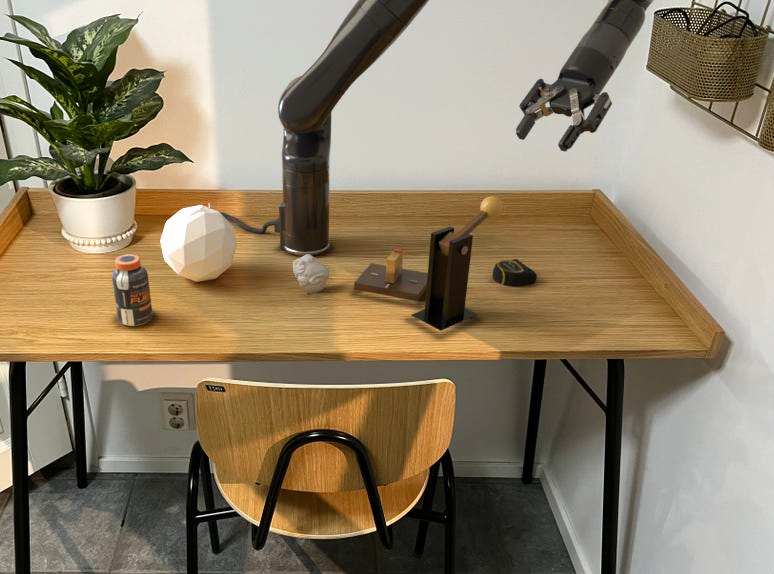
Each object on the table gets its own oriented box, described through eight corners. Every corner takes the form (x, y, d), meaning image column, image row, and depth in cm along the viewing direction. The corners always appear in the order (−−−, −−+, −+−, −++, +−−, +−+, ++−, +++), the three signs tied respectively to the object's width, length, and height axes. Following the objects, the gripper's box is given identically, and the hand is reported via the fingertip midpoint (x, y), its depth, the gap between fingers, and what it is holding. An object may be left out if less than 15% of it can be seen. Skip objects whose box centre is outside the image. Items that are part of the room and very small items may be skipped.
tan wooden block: (393, 283, 138) (395, 259, 135) (385, 282, 138) (386, 257, 136) (402, 273, 141) (403, 249, 139) (393, 272, 142) (395, 247, 139)
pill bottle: (136, 330, 130) (127, 269, 124) (110, 321, 132) (100, 261, 126) (160, 315, 134) (152, 255, 128) (134, 307, 137) (126, 248, 131)
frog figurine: (301, 281, 145) (301, 247, 141) (335, 289, 142) (336, 254, 138) (287, 295, 140) (286, 260, 136) (321, 303, 137) (321, 267, 134)
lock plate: (353, 294, 140) (354, 281, 138) (370, 275, 147) (371, 262, 145) (417, 307, 136) (418, 293, 134) (431, 285, 143) (432, 272, 141)
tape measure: (536, 289, 141) (539, 270, 139) (503, 295, 139) (506, 276, 137) (516, 274, 146) (519, 256, 144) (484, 279, 145) (487, 260, 143)
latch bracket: (446, 305, 136) (454, 221, 128) (476, 320, 131) (487, 233, 123) (410, 320, 131) (416, 234, 123) (440, 337, 127) (448, 248, 118)
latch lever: (491, 206, 129) (488, 189, 127) (508, 212, 127) (505, 195, 124) (439, 254, 126) (434, 238, 124) (455, 261, 124) (451, 245, 121)
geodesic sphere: (186, 222, 154) (162, 181, 141) (254, 229, 151) (235, 187, 138) (166, 289, 150) (139, 252, 136) (236, 297, 146) (215, 261, 133)
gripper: (551, 39, 129) (497, 120, 129) (627, 51, 119) (569, 139, 120) (565, 68, 134) (514, 145, 135) (639, 81, 125) (583, 165, 125)
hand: (540, 142), depth 127 cm, fingers open, 8 cm apart
